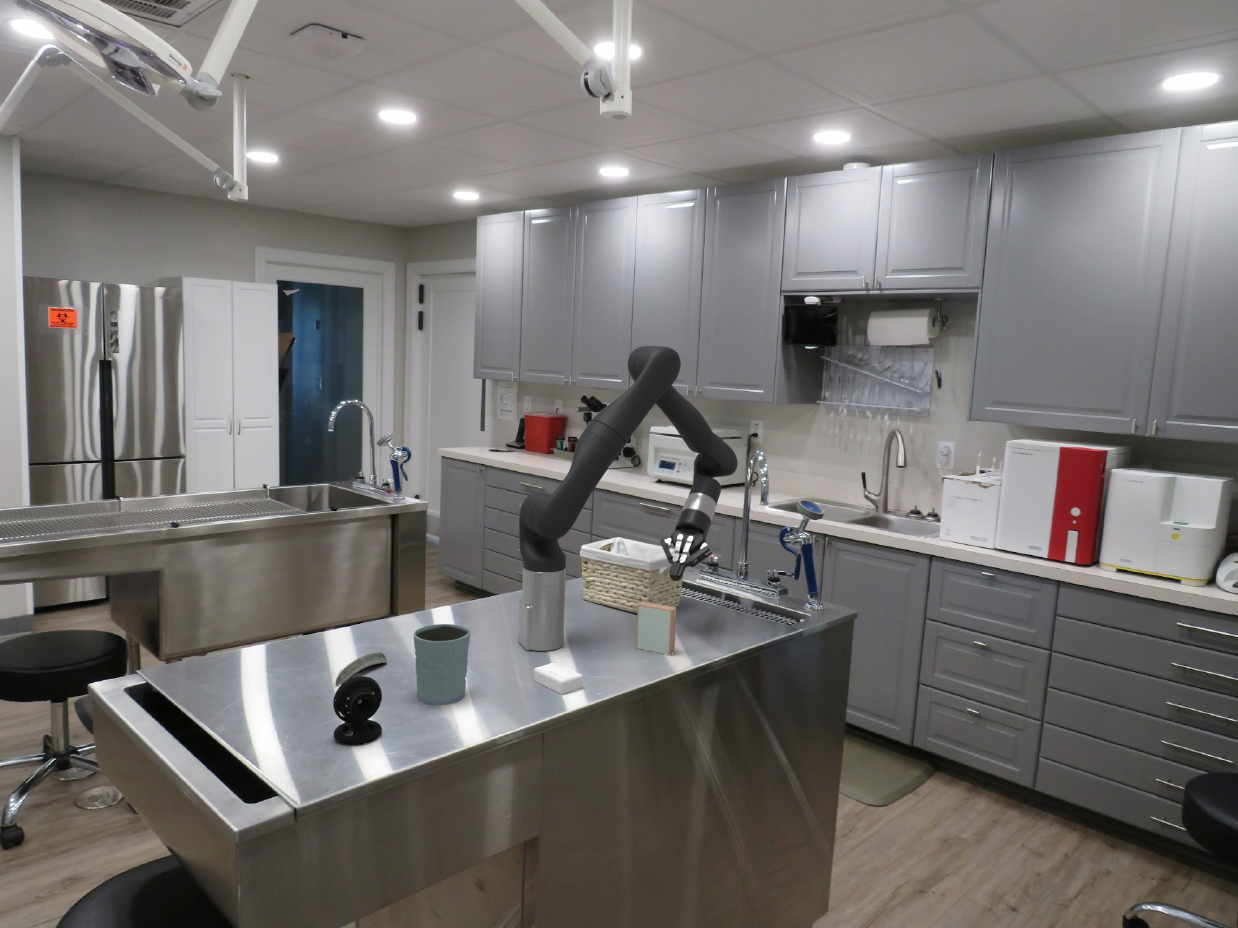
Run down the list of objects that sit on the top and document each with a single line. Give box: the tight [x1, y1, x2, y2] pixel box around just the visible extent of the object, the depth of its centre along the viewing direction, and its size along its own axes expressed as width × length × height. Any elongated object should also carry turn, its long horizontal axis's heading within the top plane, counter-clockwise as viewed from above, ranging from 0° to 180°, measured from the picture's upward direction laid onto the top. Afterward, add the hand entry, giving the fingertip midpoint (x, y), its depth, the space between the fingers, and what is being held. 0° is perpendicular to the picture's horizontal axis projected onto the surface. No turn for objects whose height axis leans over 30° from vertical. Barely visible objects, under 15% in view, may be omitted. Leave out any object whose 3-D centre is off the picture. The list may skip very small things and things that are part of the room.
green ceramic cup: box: [412, 623, 471, 706], centre depth 152 cm, size 10×10×12 cm
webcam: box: [332, 675, 383, 746], centre depth 135 cm, size 8×8×10 cm
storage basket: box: [579, 536, 684, 614], centre depth 213 cm, size 24×16×15 cm
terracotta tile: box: [635, 602, 677, 656], centre depth 179 cm, size 3×8×10 cm, turn 64°
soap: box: [533, 662, 584, 695], centre depth 159 cm, size 9×6×3 cm, turn 43°
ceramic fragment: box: [335, 651, 388, 687], centre depth 162 cm, size 14×5×4 cm, turn 153°
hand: (674, 578), depth 186 cm, fingers closed
